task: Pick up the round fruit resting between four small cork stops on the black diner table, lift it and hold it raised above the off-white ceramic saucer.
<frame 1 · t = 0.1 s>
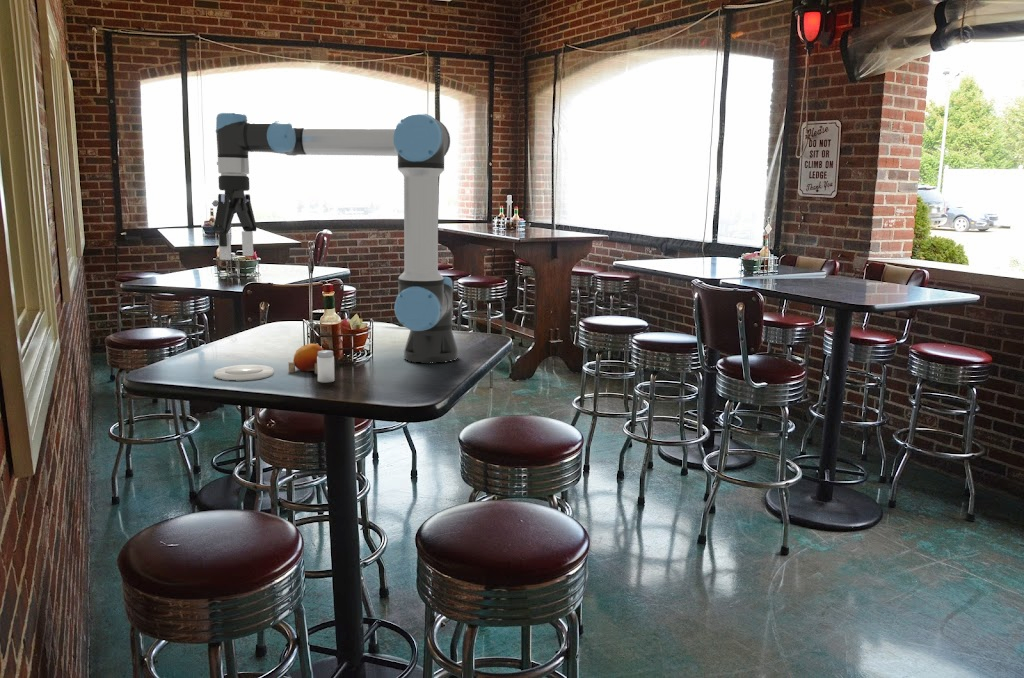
hand: (237, 257, 213), 28 cm above the table, fingers open, 13 cm apart
cork stops: (309, 369, 210), on the table
fruit: (309, 370, 210), on the table
saucer: (244, 374, 203), on the table
salt shaker: (326, 380, 198), on the table
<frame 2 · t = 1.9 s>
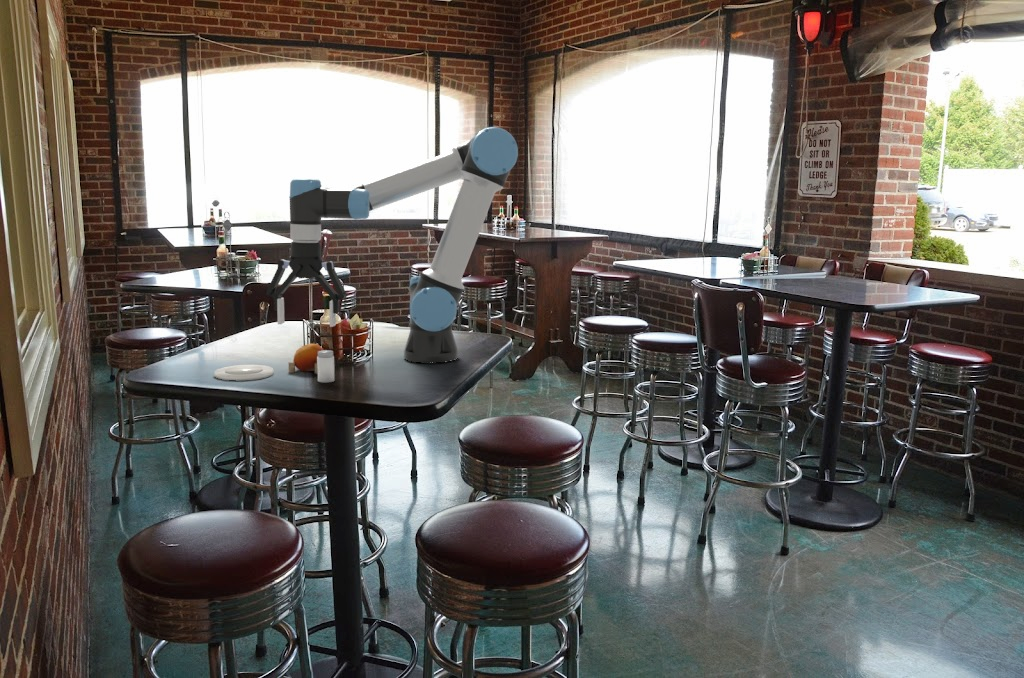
hand: (306, 324, 207), 12 cm above the table, fingers open, 13 cm apart
nothing on the table moved.
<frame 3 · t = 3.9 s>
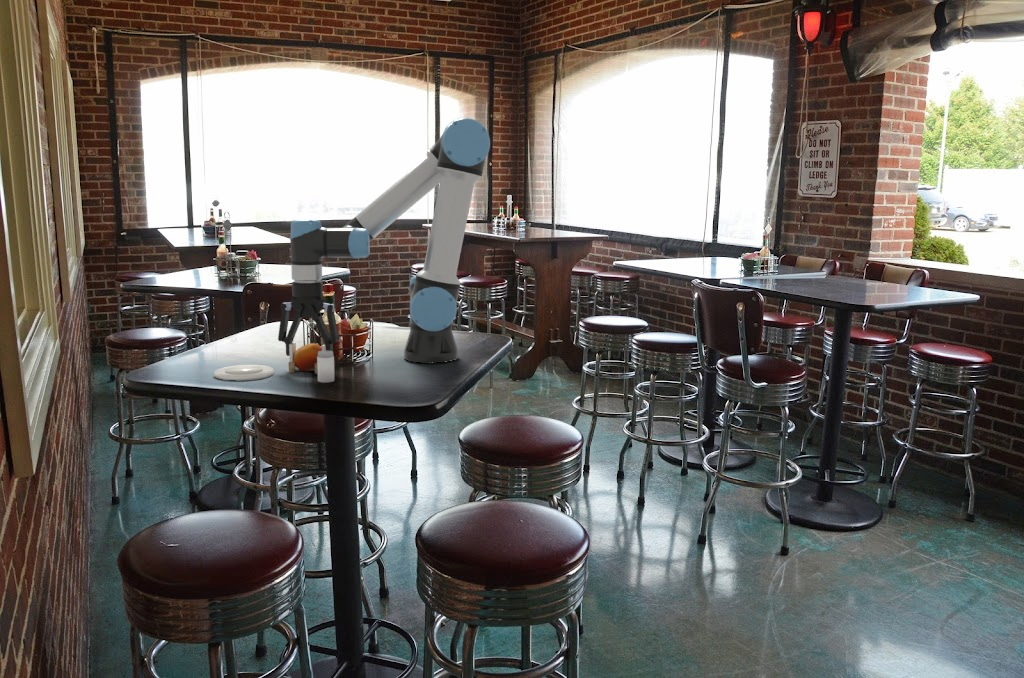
hand: (309, 368, 210), 0 cm above the table, fingers closed on fruit, 8 cm apart
fruit: (309, 370, 210), on the table, touching gripper
everything else where it was.
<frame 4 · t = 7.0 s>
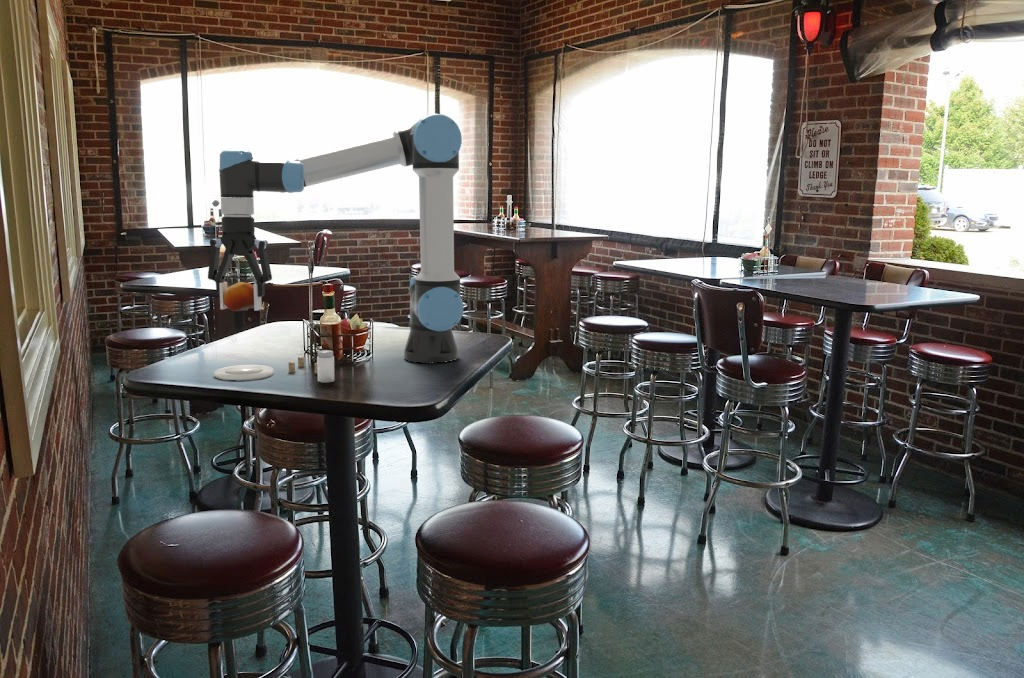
hand: (241, 309, 200), 16 cm above the table, fingers closed on fruit, 8 cm apart
fruit: (241, 310, 200), point 16 cm above the table, touching gripper
everything else where it was.
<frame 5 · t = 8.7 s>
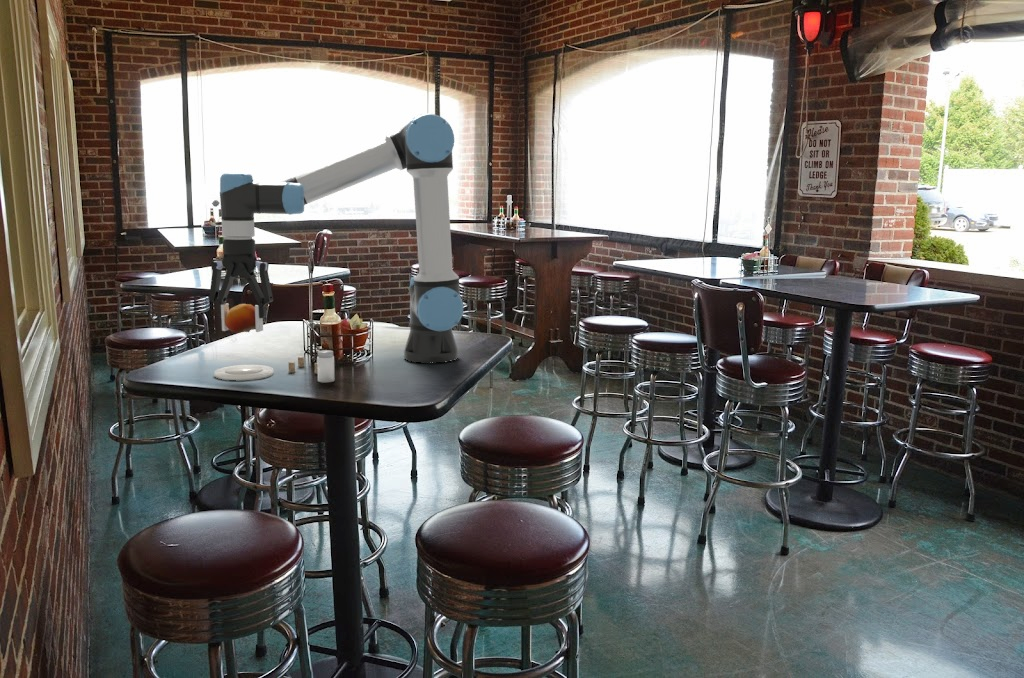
hand: (242, 330, 201), 11 cm above the table, fingers closed on fruit, 8 cm apart
fruit: (242, 332, 201), point 11 cm above the table, touching gripper
everything else where it was.
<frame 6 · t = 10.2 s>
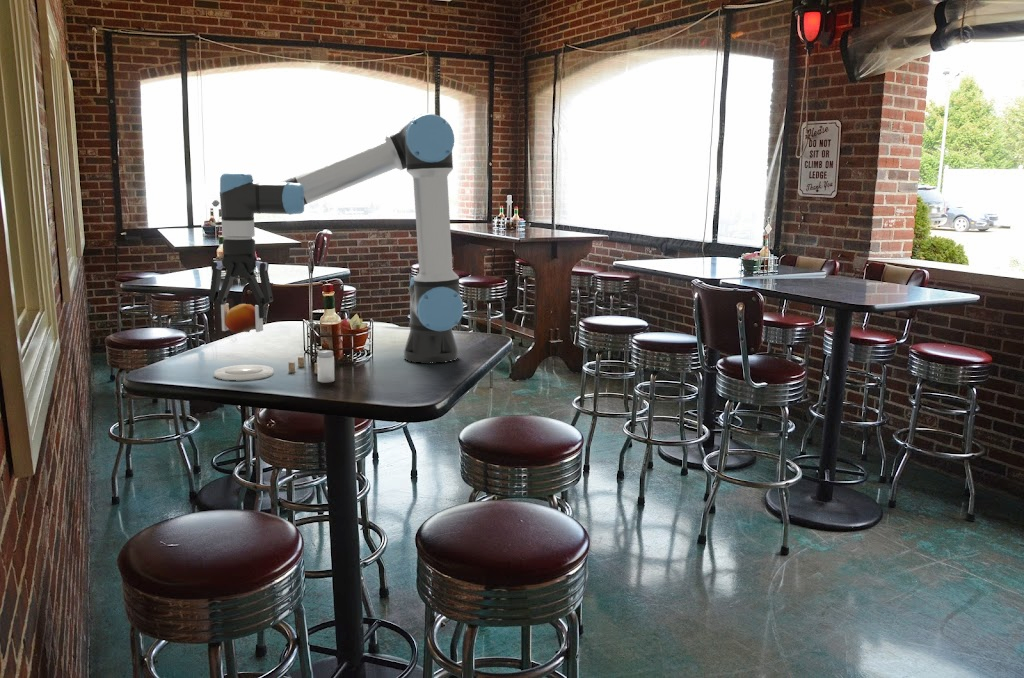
hand: (242, 330, 201), 11 cm above the table, fingers closed on fruit, 8 cm apart
fruit: (242, 332, 201), point 11 cm above the table, touching gripper
everything else where it was.
at the end: the gripper is holding fruit; fruit point 10.7 cm above the table; fruit 0.1 cm from the saucer (horizontally) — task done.
